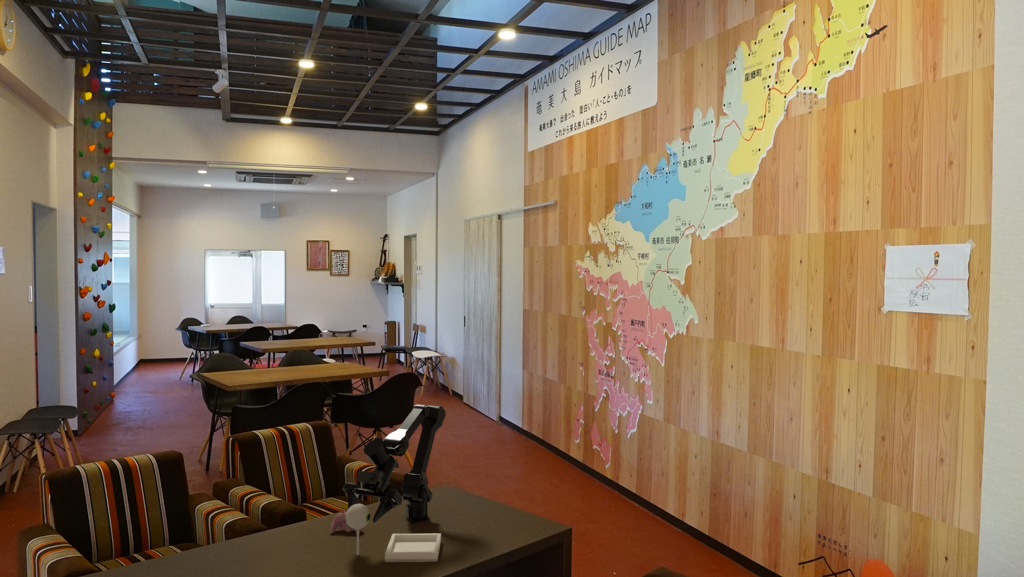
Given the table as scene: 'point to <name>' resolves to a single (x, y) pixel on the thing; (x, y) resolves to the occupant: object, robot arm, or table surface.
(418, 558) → the tray
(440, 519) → the table surface
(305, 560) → the table surface
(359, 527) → the lollipop
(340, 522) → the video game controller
